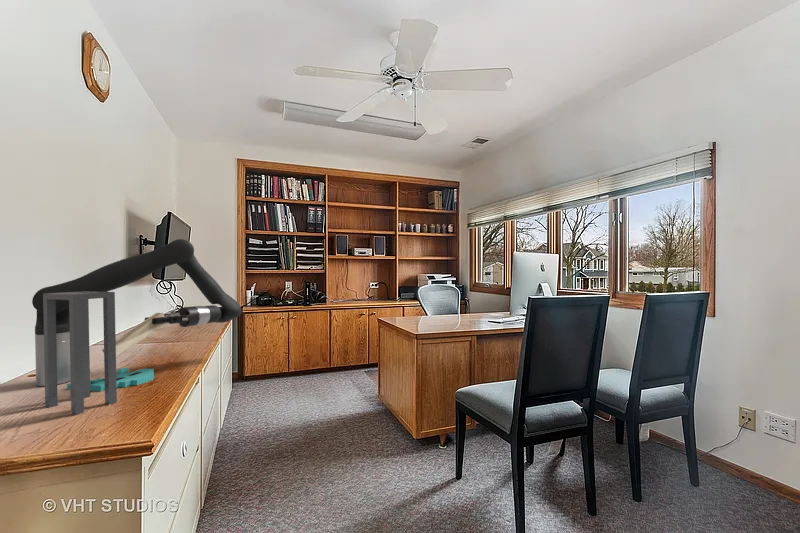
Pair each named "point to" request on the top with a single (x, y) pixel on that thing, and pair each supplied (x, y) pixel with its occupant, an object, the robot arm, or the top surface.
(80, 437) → the top surface
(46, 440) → the top surface
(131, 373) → the alien figure
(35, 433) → the top surface
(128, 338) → the block
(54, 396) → the stand
